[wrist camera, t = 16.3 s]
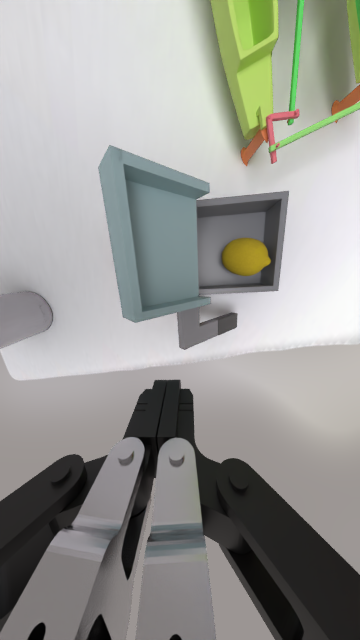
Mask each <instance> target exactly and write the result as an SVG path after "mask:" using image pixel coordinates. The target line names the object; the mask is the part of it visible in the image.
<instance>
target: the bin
mask: <svg viewBox="0 0 360 640" xmlns="http://www.w3.org/2000/svg"><path fill="white" fill-rule="evenodd" d="M288 196H289V191H283V192H273V193H263V194H254V195H244V196H234V197H224V198H215V199H205V200H196V214H197V250H198V286H199V295H203V294H224V293H244V292H265V291H278V287H279V278H280V269H281V260H282V251H283V241H284V232H285V223H286V214H287V205H288ZM239 238H253V239H256V240H259V241H261V242H262V243H263V244H264V245H265V246H266V248H267V250H268V256H269V258H270V260H271V262H270V264H269V265H267V266H265V267H264V268H263V269H262V270H261V271H260V272H258V273H257V274H254V275H251V276H241V275H237V274H234V273H232V272H230V271H229V270H227V269H226V268H225V267H224V265H223V262H222V252H223V250H224V248H225V247H226V245H227V244H228V243H230V242H231V241H233V240H235V239H239Z"/></svg>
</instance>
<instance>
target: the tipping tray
mask: <svg viewBox="0 0 360 640" xmlns="http://www.w3.org/2000/svg"><path fill="white" fill-rule="evenodd" d="M98 169H99V175H100V181H101V187H102V193H103V199H104V205H105V211H106V217H107V223H108V229H109V235H110V241H111V247H112V253H113V259H114V265H115V271H116V277H117V283H118V289H119V295H120V302H121V308H122V314H123V317H124V318H126V319H128V320H131V321H133V322H135V323H136V322H140V321H144V320H148V319H152V318H156V317H160V316H164V315H168V314H172V313H176V312H177V317H178V332H179V347H180V348H182V349H184V350H185V349H187V348H190V347H192V346H194V345H196V344H199V343H201V342H203V341H206V340H208V339H210V338H213V337H215V336H217V335H220V334H223V333H225V332H227V331H229V330H232V329H234V328H236V327H237V313H229V314H226V315H223V316H220V317H217V318H214V319H211V320H208V321H205V322H202V323H200V322H199V307H200V306H204V305H208V304H210V297H202V296H199V286H198V250H197V214H196V199H198V198H200V197H202V196H204V195H206V194H208V193H209V192H210V190H209V183H207V182H205V181H202V180H200V179H197V178H194V177H192V176H189V175H186V174H184V173H181V172H179V171H176V170H173V169H171V168H168V167H166V166H163V165H160V164H158V163H155V162H153V161H150V160H147V159H145V158H142V157H140V156H137V155H134V154H132V153H129V152H126V151H124V150H121V149H119V148H116V147H113V146H111V145H109V147H108V149H107V151H106V153H105V155H104V157H103V159H102V161H101V163H100V165H99V167H98Z"/></svg>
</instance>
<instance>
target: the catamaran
mask: <svg viewBox="0 0 360 640" xmlns="http://www.w3.org/2000/svg"><path fill="white" fill-rule="evenodd" d="M346 1H347V14H348V23H349V32H350V40H351V48H352V55H353V63H354V71H355V78H356V83H360V0H346ZM210 2H211V7H212V13H213V18H214V23H215V28H216V34H217V39H218V44H219V49H220V53H221V58H222V62H223V66H224V70H225V74H226V78H227V82H228V85H229V89H230V92H231V95H232V99H233V103H234V106H235V109H236V113H237V116H238V120H239V123H240V127H241V130H242V133H243V136H244V139H245V140H248V139H251V138H253V137H254V138H253V139H252V141H251V142H250V144H249V145H248V147H247V148H245V147H243V148H242V150H241V157H242V160H243V163H244V164H245V165H246V166H247V164H248V161H249V159H250V158H251V157H252V155H253V154H254V153H255V152H256V150H257V149H258V148H259V146H260V145H261V144H262V143H263V141H264V140H265V141H266V143H267V142H268V141H269V153H270V156H271V164H273V163H275V162H276V161H277V158H276V150H277V149H279V148H281V147H283V146H285V145H287V144H289V143H291V142H293V141H295V140H297V139H299V138H301V137H304V136H306V135H308V134H310V133H312V132H314V131H316V130H318V129H320V128H322V127H324V126H326V125H328V124H330V123H332V122H334V121H335V122H336V123H337V121H338V119H340V118H342V117H345V116H347V115H349V114H351V113H353V112H355V111H357V110H359V109H360V102H359V103H357V102H358V101H359V100H360V85H359V86H357V87H356V88H355V89H354V90H353V91H352V92H351V93H350V94H349V95H347V96H346V97H345V98H344V99H343V100H342V101H341V102H340V103H339V101H338V100H336V101H335V102H334V103H333V106H332V116H330V117H328V118H326V119H324V120H322V121H320V122H318V123H316V124H314V125H312V126H310V127H308V128H306V129H304V130H302V131H300V132H298V133H296V134H294V135H292V136H290V137H288V138H286V139H284V140H282V141H280V142H278V143H276V144H275V141H274V132H273V123H272V121H279V120H287V119H288V121H287V123H288V125H292V123H293V122H294V119H295V118H298V117H299V109H297V110H296V111H294V110H295V99H296V88H297V76H298V65H299V53H300V42H301V31H302V19H303V8H304V0H298V2H297V15H296V28H295V41H294V53H293V66H292V79H291V92H290V104H289V112H281V113H273V89H272V61H271V57H272V50H273V48H274V46H275V43H276V41H277V39H278V0H210ZM356 103H357V104H356Z"/></svg>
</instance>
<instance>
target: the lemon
mask: <svg viewBox="0 0 360 640" xmlns="http://www.w3.org/2000/svg"><path fill="white" fill-rule="evenodd" d="M222 262H223V265H224V267H225V268H226V269H227V270H229V271H230V272H232V273H234V274H237V275H241V276H251V275H254V274H257V273H258V272H260V271H261V270H262V269H263V268H264V267H265V266H267V265H269V264H270V262H271V260H270V258H269V256H268V250H267V248H266V246H265V245H264V244H263V243H262V242H261V241H259V240H256V239H253V238H239V239H235V240H233V241H231V242H230V243H228V244H227V245H226V247H225V248H224V250H223V252H222Z"/></svg>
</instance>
